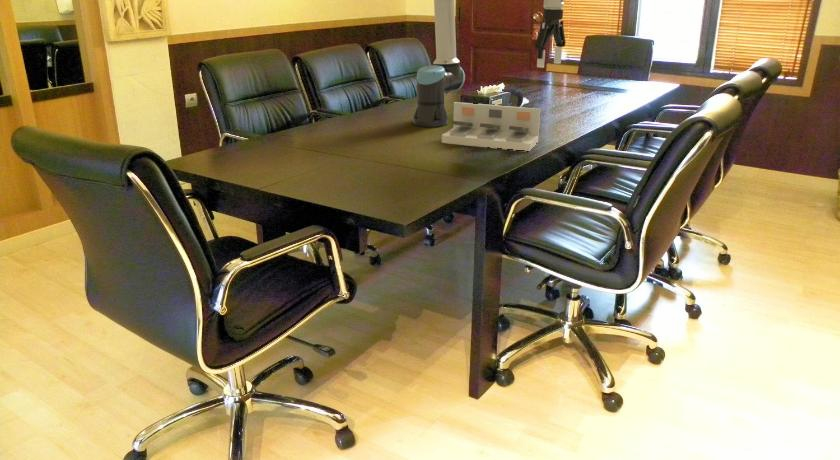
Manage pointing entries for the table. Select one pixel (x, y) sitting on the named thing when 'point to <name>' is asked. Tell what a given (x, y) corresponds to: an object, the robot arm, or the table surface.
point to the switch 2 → (489, 125)
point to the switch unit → (491, 136)
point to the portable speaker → (515, 96)
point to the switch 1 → (462, 123)
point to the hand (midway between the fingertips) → (548, 65)
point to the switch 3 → (518, 128)
